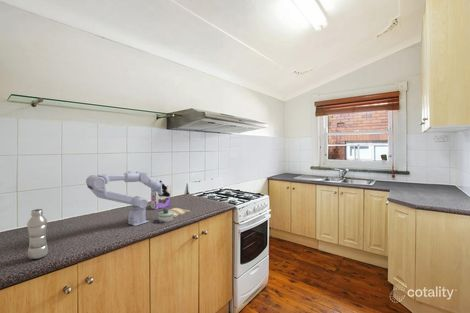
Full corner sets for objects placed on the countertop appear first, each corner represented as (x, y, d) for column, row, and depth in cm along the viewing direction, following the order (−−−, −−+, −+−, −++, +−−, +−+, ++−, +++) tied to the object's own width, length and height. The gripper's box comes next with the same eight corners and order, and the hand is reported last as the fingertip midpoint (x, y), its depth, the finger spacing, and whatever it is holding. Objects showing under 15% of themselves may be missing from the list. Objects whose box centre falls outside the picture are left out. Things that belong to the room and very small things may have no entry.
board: (172, 217, 149) (172, 216, 148) (158, 214, 156) (158, 212, 156) (189, 212, 162) (189, 210, 162) (176, 208, 170) (176, 207, 170)
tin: (164, 224, 137) (164, 217, 137) (155, 221, 142) (155, 214, 142) (176, 220, 144) (176, 214, 144) (166, 217, 149) (166, 211, 149)
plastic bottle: (29, 262, 90) (27, 213, 89) (26, 257, 94) (25, 210, 93) (49, 257, 94) (48, 210, 94) (46, 252, 99) (45, 207, 98)
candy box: (155, 210, 166) (155, 187, 166) (150, 208, 170) (150, 187, 169) (170, 206, 177) (170, 185, 177) (166, 204, 181) (166, 184, 180)
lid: (164, 217, 136) (164, 211, 136) (154, 215, 141) (154, 208, 141) (176, 214, 144) (176, 207, 144) (166, 211, 149) (166, 205, 149)
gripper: (159, 185, 139) (174, 194, 148) (154, 173, 150) (169, 182, 159) (151, 193, 139) (167, 202, 148) (147, 180, 150) (162, 189, 159)
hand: (167, 192), depth 154 cm, fingers open, 7 cm apart
